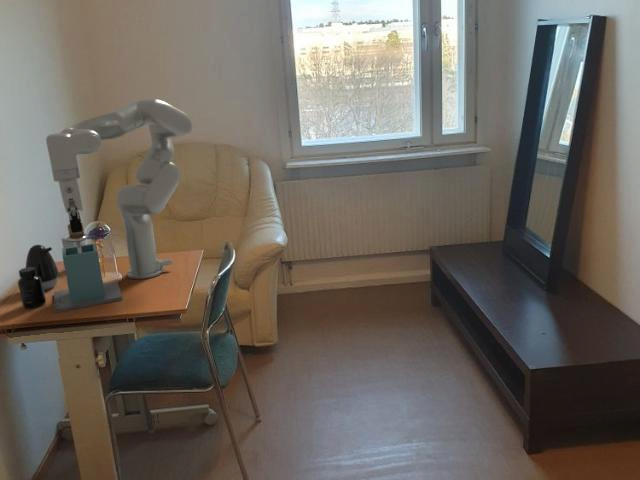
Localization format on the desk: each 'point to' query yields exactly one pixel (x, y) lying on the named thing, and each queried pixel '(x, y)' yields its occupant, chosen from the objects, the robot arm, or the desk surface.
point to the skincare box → (69, 243)
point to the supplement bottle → (31, 288)
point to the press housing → (84, 281)
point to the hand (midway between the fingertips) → (76, 228)
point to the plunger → (76, 238)
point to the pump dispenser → (43, 265)
